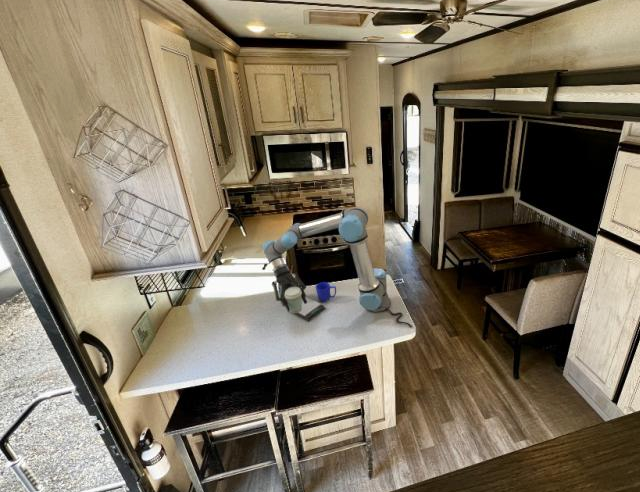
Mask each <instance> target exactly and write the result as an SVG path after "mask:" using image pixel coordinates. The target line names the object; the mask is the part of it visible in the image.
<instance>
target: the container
mask: <svg viewBox="0 0 640 492" xmlns="http://www.w3.org/2000/svg"><path fill="white" fill-rule="evenodd" d="M292 280H294V282H296V283H297V284H298V285H299V286H300V284H299V283H298V282H297V280H296V279H295V278H294V277H293V276H292ZM280 287H281V284H279V283H277V290H278V294H279V295H280V290H281V288H280ZM291 287H294V286H293V285H292V284H290V283H289V284H286V285H284V294H285V291H286V290H287V289H288V288H291ZM283 299H286V298H285V296H284V295H283ZM286 302H287V301H286Z"/></svg>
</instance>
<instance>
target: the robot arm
mask: <svg viewBox="0 0 640 492" xmlns="http://www.w3.org/2000/svg"><path fill="white" fill-rule="evenodd" d="M368 222H369V215H368V212H367V211H366V210H365V209H364V208H362V207H360V206H353V207H349V208H346V209H342V211H341V212H338V213H335V214H331V215H328V216H324V217H320V218H318V219H314V220H311V221H307V222H304V223H300V222H296V223H294V224H293V225H291V226H290V227H289V228H288V229H287V230H286V231H285V232H284V233H283V234H282V235H281V236H280V237H279V238H278V239H277V240H275V239H271V240H268V241H266V242H264V243H263V245H262V250H263V254H264V255H265V257H266V259H267V261H268V264H269V266H270V268H271V270H272V271H273V275H274V277H275V281H272V282H271V286H272V287H273V293H274V297H275V301H276V302H280V304H281V305H282V307H285V309H286V311H287V313H289V312H290V308H289V306H288V304H287V302H286V299H283V295H284V285H286V284H289V283H290V284H292V285H293V286H294V287H298V288H300V290H301V292H302V294H301V300H303V302H304V304H306V303H307V301H306V299H305V298H306V297H307V294H306V292H305V290H306V288H307V286H306V284H305V283H304V282H303V281H302V279H301V277H299V274H298V272H295V273H291V271H290V269H289V267H288V265H287V262H286V260H285V258H284V255H283V254H284V253H286V252H287V251H289V250H290V249H292V248H293V247H295V245H296V244H297V243H298V240H299V239H302V238H306V237H309V236H314V235H316V234H321V233H324V232H328V231H329V232H330V231H332V230H336V229H338V233H339V235H340V237H341V238H342V239H343V240H344V242H345V243H346V244H347V245H349V249H350V252H351V255H352V259H353V263H354V267H355V270H356V275H357V278H358V281H359V283H358V284H357V288H358V292H359V298H358V302H359V305H360V306H361V307H362V308H363V309H366V310H367V311H369V312H371V313H382V312H384V311H388V312H389V313H390V314H391V315H392V316H397V315H399V316H398V317H397V318H396V322H397V323H399V324H405V325H408V326H409V327H410V328H412V327H413V326H412V325H411V324H410V323H409V322H407V321H400V320H399V319H400V318H401V317H402V316H403V313H402V312H397V313H393V312H392V311H391V310H390V309H389V308H390V306H391V299H390V298H389V295H388V289H387V272H386V271H385V270H384V269H382V268H374V267H373V263H372V259H371V255H370V251H369V248H368V247H369V246H368V244H367V239H368V237H369V236H368V232H367V231H368V230H367V227H366V226H367V224H368ZM292 276H293V277H294V278H295V279H296V280H297V282H298V283H299V285H298V284H297V283H296V282H294V280H292ZM278 283H279V284H281V287H280V288H281V290H280V294H279V289H278Z"/></svg>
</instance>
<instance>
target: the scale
mask: <svg viewBox="0 0 640 492" xmlns="http://www.w3.org/2000/svg"><path fill="white" fill-rule="evenodd" d="M305 299H306V301H307V303H306V304H304V302H303V299H301V305H302V309H301V311H300V312H298V313H295V314H294V313H292V314H293V315H295V316H297V317H299V318H300V319H302V320H304V321H306V322H309V321H311V320H312V319H313V318H315V317H316V316H317V315H319V314H321V312H323V311H325V310H326V309H325V305H323V304H321V302H318V301H315V300H314V299H311V298H310V297H307V296H306V297H305Z"/></svg>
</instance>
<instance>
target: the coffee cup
mask: <svg viewBox="0 0 640 492" xmlns="http://www.w3.org/2000/svg"><path fill="white" fill-rule="evenodd" d="M301 294H302V292H301V290H300V288H298V287H291V288H288V289H287V290H286V291H285V294H284V296H285V298H286V301H287V304H288V306H289V308H290V311H289V312H290V313H291V314H293V313H294V314H293V315H295V313H298V312H300V311H301V309H302V305H301V301H302V297H301Z"/></svg>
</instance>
